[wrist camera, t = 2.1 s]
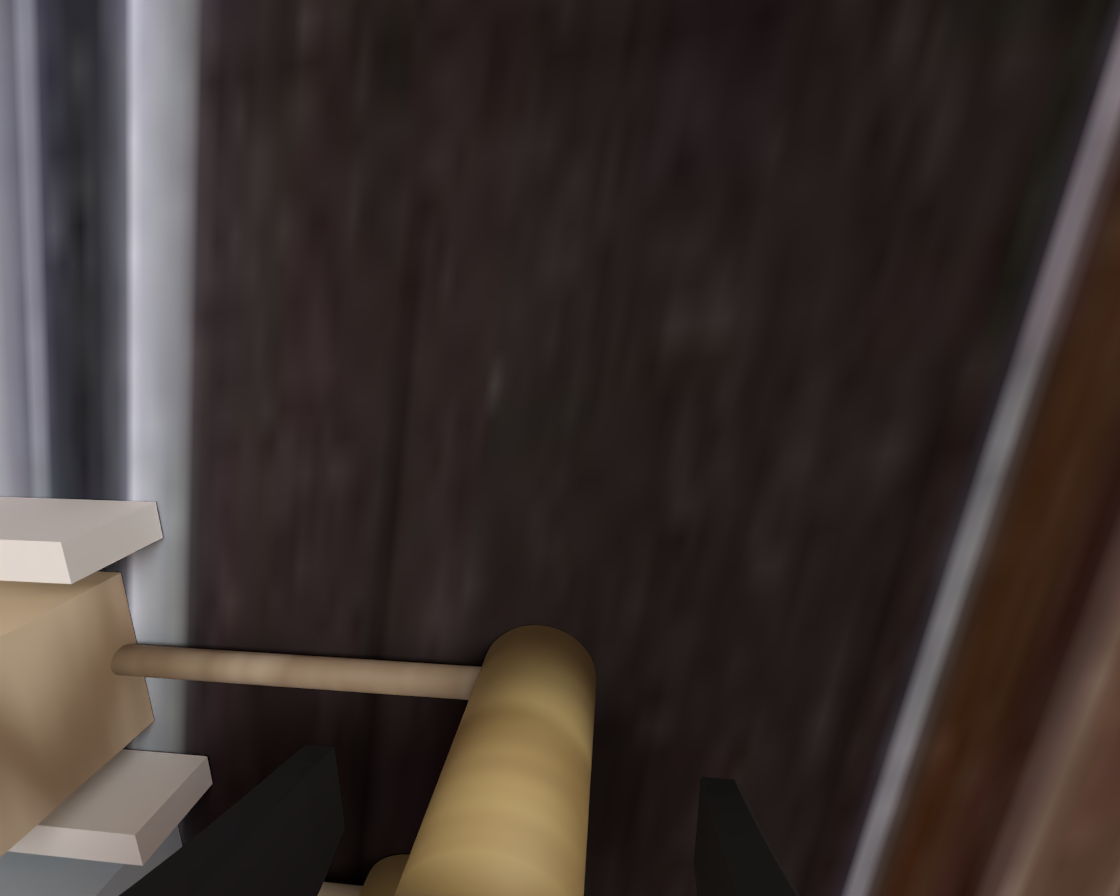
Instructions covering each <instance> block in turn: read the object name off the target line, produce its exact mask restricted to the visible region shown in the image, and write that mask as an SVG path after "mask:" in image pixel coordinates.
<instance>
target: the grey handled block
mask: <svg viewBox="0 0 1120 896" xmlns="http://www.w3.org/2000/svg"><path fill="white" fill-rule="evenodd" d="M181 847H183V846H182V842H181V837H180V833H179V828H178V825H177V826H176V827H175V829H174V830H173V831H172V832H171V833H170V834H169V836H168V837H167V838H166V839H165V840H164V841H163V843H162V844H161V845H160V846H159V847H158V849H157V850H156V851H155V852H154V853H153V854H152V856H151V857H150V858H149V859H148V860H147V861H146V863H145V864H144V865H143V866H140V865H131V864H121V863H112V862H103V861H94V860H84V859H75V858H66V857H56V856H47V855H38V854H29V853H19V852H10V851H7V852H6V853H5V854H4V855H3V856H2V857H1V858H0V896H119V895H120V894H121V893H123V892H124V891H125V890H127V889H128V888H130V887H131V886H132V885H134V884H135V883H136V882H137V881H139V880H140V879H141V878H143V877H144V876H145V875H146V874H148V873H149V872H150V871H152V870H153V869H154V868H155V867H157V866H158V865H159V864H161V863H162V862H163V861H165V860H166V859H167V858H168V857H170V856H171V855H172V854H174V853H175V852H176V851H177V850H179V849H180V848H181ZM408 858H409V855H406V854H402V855H393V856H389V857H386V858H384V859H382V860H380V861H379V862H377V863H376V864H375V865H374V866H373V867H372V869H371V870H370V872H369V874H368V876H367V878H366V881H365V883H364V885H363V886H359V885H349V884H340V883H331V882H323V885H322V887H321V889H320V891H319V893H318V895H317V896H394V895H395V892H396V889H397V887H398V884H399V882H400V879H401V876H402V874H403V871H404V868H405V866H406V863H407V861H408Z"/></svg>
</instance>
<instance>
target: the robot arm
mask: <svg viewBox="0 0 1120 896" xmlns="http://www.w3.org/2000/svg"><path fill="white" fill-rule="evenodd" d="M344 830H345V822H344V814H343V807H342V800H341V792H340V785H339V777H338V770H337V762H336V755H335V747H331V746H318V745H305V746H303V747H302V748H301V749H300V750H298V751H297V752H296V753H295V754H294V755H292V756H291V757H290V758H289V759H288V760H286V761H285V762H284V763H283V764H282V765H280V766H279V767H278V768H277V769H276V770H275V771H273V772H272V773H271V774H270V775H269V776H267V777H266V778H265V779H264V780H263V781H262V782H260V783H259V784H258V785H257V786H256V787H254V788H253V789H252V790H251V791H250V792H249V793H247V794H246V795H245V796H244V797H243V798H241V799H240V800H239V801H238V802H237V803H235V804H234V805H233V806H232V807H231V808H229V809H228V810H227V811H226V812H225V813H223V814H222V815H221V816H220V817H219V818H217V819H216V820H215V821H214V822H212V823H211V824H210V825H209V826H208V827H206V828H205V829H204V830H203V831H202V832H200V833H199V834H198V835H197V836H195V837H194V838H193V839H192V840H190V841H189V842H188V843H186V844H185V845H184V846H183V847H181V848H180V849H179V850H177V851H176V852H175V853H174V854H172V855H171V856H170V857H168V858H167V859H166V860H165V861H163V862H162V863H161V864H159V865H158V866H157V867H155V868H154V869H153V870H152V871H150V872H149V873H148V874H146V875H145V876H144V877H143V878H141V879H140V880H139V881H137V882H136V883H135V884H134V885H132V886H131V887H130V888H128V889H127V890H125V891H124V892H123V893H121V894H120V895H119V896H317V895H318V893H319V891H320V889H321V887H322V885H323V882H324V880H325V878H326V875H327V873H328V870H329V868H330V865H331V863H332V861H333V858H334V855H335V853H336V850H337V848H338V845H339V843H340V840H341V837H342V835H343V832H344ZM694 864H695V874H696V885H697V895H698V896H800V895H799V894H798V892H797V890H796V889H795V887H794V886H793V884H792V882H791V881H790V879H789V877H788V876H787V874H786V872H785V870H784V869H783V867H782V865H781V863H780V862H779V860H778V858H777V856H776V855H775V853H774V851H773V849H772V847H771V846H770V844H769V842H768V840H767V838H766V837H765V835H764V833H763V831H762V829H761V827H760V825H759V823H758V822H757V820H756V818H755V816H754V814H753V812H752V810H751V808H750V806H749V804H748V802H747V800H746V798H745V796H744V794H743V791H742V789H741V787H740V785H739V784H738V783H737V782H736V781H735V780H732V779H720V778H708V777H701V780H700V794H699V807H698V820H697V833H696V846H695V860H694Z"/></svg>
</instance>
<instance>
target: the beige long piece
mask: <svg viewBox="0 0 1120 896" xmlns="http://www.w3.org/2000/svg"><path fill="white" fill-rule="evenodd" d="M145 677H153V678H167V679H181V680H195V681H209V682H223V683H237V684H251V685H265V686H280V687H294V688H308V689H322V690H336V691H350V692H364V693H378V694H392V695H406V696H420V697H434V698H448V699H463V700H469V701H468V704H467V706H466V709H465V712H464V714H463V717H462V719H461V722H460V725H459V727H458V730H457V732H456V735H455V738H454V740H453V743H452V746H451V748H450V751H449V753H448V756H447V759H446V761H445V764H444V766H443V769H442V772H441V774H440V777H439V780H438V782H437V785H436V787H435V790H434V793H433V795H432V798H431V800H430V803H429V806H428V808H427V811H426V814H425V816H424V819H423V821H422V824H421V827H420V829H419V832H418V834H417V837H416V840H415V842H414V845H413V848H412V850H411V853H410V855H409V858H408V861H407V863H406V866H405V868H404V871H403V874H402V876H401V879H400V882H399V884H398V887H397V889H396V892H395V895H394V896H584V880H585V864H586V847H587V830H588V814H589V797H590V780H591V764H592V747H593V730H594V714H595V697H596V680H597V679H596V670H595V666H594V663H593V660H592V658H591V656H590V655H589V653H588V652H587V650H586V649H585V648H584V647H583V645H582V644H581V643H580V642H578V641H577V640H576V639H575V638H574V637H572V636H570V635H569V634H567V633H565V632H563V631H561V630H559V629H556V628H553V627H548V626H542V625H528V626H522V627H518V628H515V629H512V630H510V631H508V632H506V633H504V634H503V635H501V636H500V637H499V638H498V639H497V640H496V641H495V642H494V643H493V644H492V645H491V647H490V648H489V650H488V652H487V654H486V657H485V659H484V662H483V664H482V667H478V666H462V665H447V664H431V663H416V662H400V661H385V660H369V659H354V658H338V657H323V656H307V655H292V654H276V653H261V652H245V651H230V650H214V649H199V648H183V647H168V646H152V645H137V642H136V638H135V633H134V629H133V624H132V620H131V616H130V611H129V607H128V602H127V598H126V593H125V589H124V585H123V580H122V576H121V573H120V572H100V571H96V572H94V573H92V574H90V575H88V576H86V577H84V578H83V579H81V580H79V581H77V582H75V583H73V584H59V583H40V582H21V581H1V580H0V858H1V857H2V856H3V855H4V854H5V853H6V852H7V851H8V850H10V849H11V848H12V847H13V846H14V845H15V844H16V843H17V842H19V841H20V840H21V839H22V838H23V837H24V836H25V835H26V834H28V833H29V832H30V831H31V830H32V829H33V828H34V827H35V826H37V825H38V824H39V823H40V822H41V821H42V820H43V819H44V818H46V817H47V816H48V815H49V814H50V813H51V812H52V811H53V810H55V809H56V808H57V807H58V806H59V805H60V804H61V803H62V802H64V801H65V800H66V799H67V798H68V797H69V796H70V795H71V794H72V793H74V792H75V791H76V790H77V789H78V788H79V787H80V786H81V785H83V784H84V783H85V782H86V781H87V780H88V779H89V778H90V777H92V776H93V775H94V774H95V773H96V772H97V771H98V770H99V769H101V768H102V767H103V766H104V765H105V764H106V763H107V762H108V761H110V760H111V759H112V758H113V757H114V756H115V755H116V754H117V753H119V752H120V751H121V750H122V749H123V748H124V747H125V746H126V745H128V744H129V743H130V742H131V741H132V740H133V739H134V738H135V737H137V736H138V735H139V734H140V733H141V732H142V731H143V730H144V729H146V728H147V727H148V726H149V725H150V724H151V723H152V722H153V721H154V717H153V713H152V708H151V704H150V700H149V695H148V691H147V686H146V682H145Z"/></svg>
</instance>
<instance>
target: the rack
mask: <svg viewBox="0 0 1120 896" xmlns="http://www.w3.org/2000/svg"><path fill="white" fill-rule="evenodd" d="M161 538H163V536H162V531H161V526H160V521H159V516H158V511H157V506H156V502H138V501H109V500H80V499H51V498H22V497H0V580H1V581H21V582H40V583H59V584H73V583H75V582H77V581H79V580H81V579H83V578H84V577H86V576H88V575H90V574H92V573H94V572H96V571H98V570H100V569H102V568H104V567H106V566H108V565H110V564H112V563H114V562H116V561H118V560H120V559H122V558H124V557H126V556H128V555H130V554H132V553H134V552H136V551H138V550H140V549H142V548H144V547H146V546H148V545H150V544H152V543H154V542H156V541H158V540H160V539H161ZM212 784H213V783H212V778H211V773H210V768H209V763H208V758H207V756H198V755H186V754H174V753H162V752H150V751H138V750H127V749H122V750H121V751H120V752H119V753H117V754H116V755H115V756H114V757H113V758H112V759H111V760H110V761H108V762H107V763H106V764H105V765H104V766H103V767H102V768H101V769H99V770H98V771H97V772H96V773H95V774H94V775H93V776H92V777H90V778H89V779H88V780H87V781H86V782H85V783H84V784H83V785H81V786H80V787H79V788H78V789H77V790H76V791H75V792H74V793H72V794H71V795H70V796H69V797H68V798H67V799H66V800H65V801H64V802H62V803H61V804H60V805H59V806H58V807H57V808H56V809H55V810H53V811H52V812H51V813H50V814H49V815H48V816H47V817H46V818H44V819H43V820H42V821H41V822H40V823H39V824H38V825H37V826H35V827H34V828H33V829H32V830H31V831H30V832H29V833H28V834H26V835H25V836H24V837H23V838H22V839H21V840H20V841H19V842H17V843H16V844H15V845H14V846H13V847H12V848H11V849H10V850H8V851H10V852H19V853H29V854H38V855H47V856H56V857H66V858H75V859H84V860H94V861H103V862H112V863H121V864H131V865H140V866H143V865H144V864H145V863H146V861H147V860H148V859H149V858H150V857H151V856H152V854H153V853H154V852H155V851H156V850H157V849H158V847H159V846H160V845H161V844H162V843H163V841H164V840H165V839H166V838H167V837H168V836H169V834H170V833H171V832H172V831H173V830H174V829H175V827H176V826H177V825H178V824H179V823H180V821H181V820H182V819H183V818H184V817H185V816H186V814H187V813H188V812H189V811H190V810H191V809H192V807H193V806H194V805H195V804H196V803H197V801H198V800H199V799H200V798H201V797H202V796H203V794H204V793H205V792H206V791H207V790H208V789H209V787H210V786H211V785H212Z"/></svg>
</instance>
